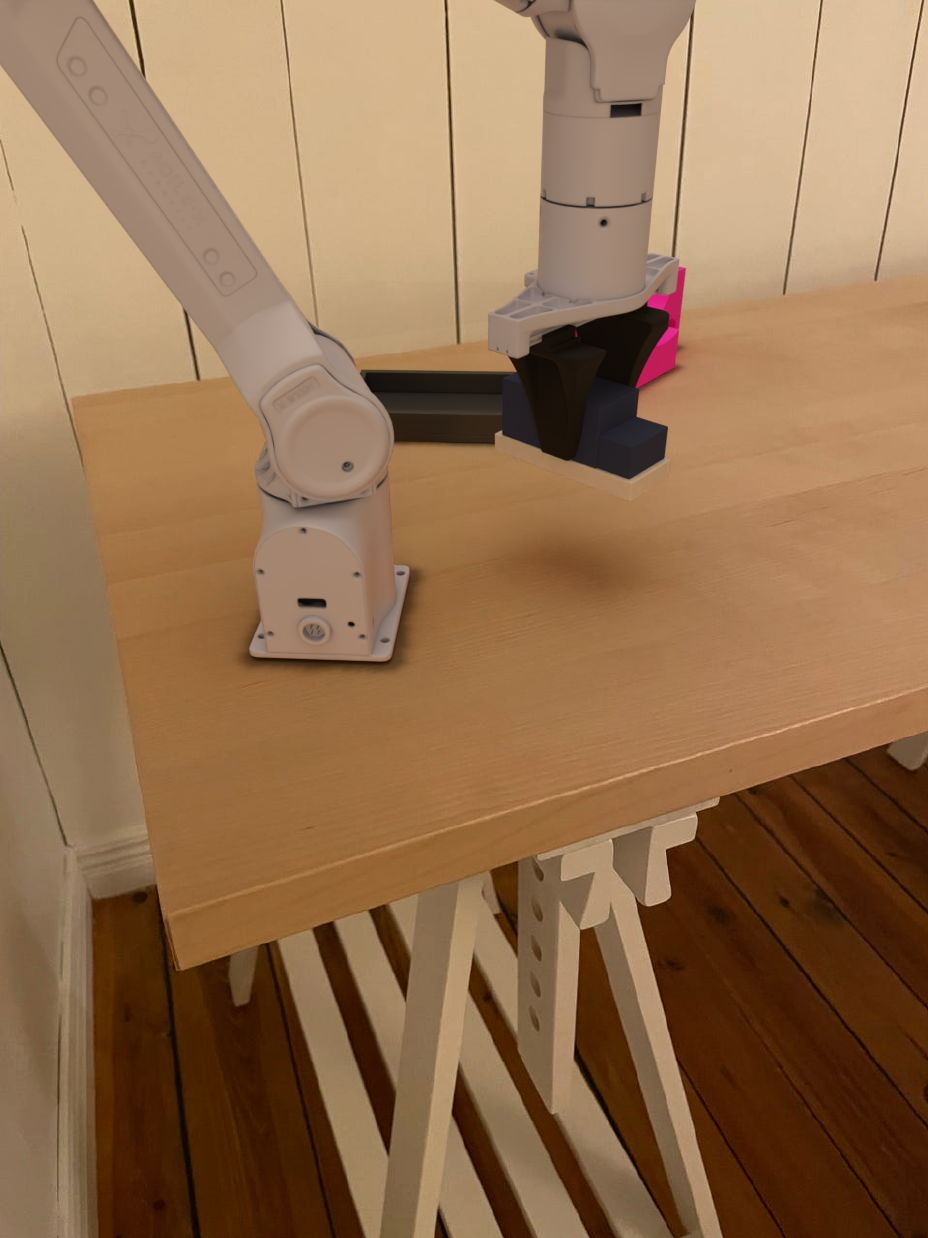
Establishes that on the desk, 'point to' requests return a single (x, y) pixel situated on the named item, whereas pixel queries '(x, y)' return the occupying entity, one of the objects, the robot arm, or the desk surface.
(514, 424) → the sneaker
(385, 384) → the tray
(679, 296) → the toy block
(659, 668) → the desk surface
